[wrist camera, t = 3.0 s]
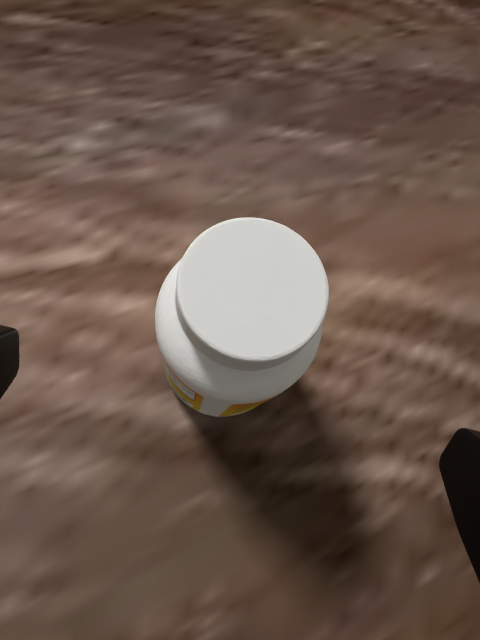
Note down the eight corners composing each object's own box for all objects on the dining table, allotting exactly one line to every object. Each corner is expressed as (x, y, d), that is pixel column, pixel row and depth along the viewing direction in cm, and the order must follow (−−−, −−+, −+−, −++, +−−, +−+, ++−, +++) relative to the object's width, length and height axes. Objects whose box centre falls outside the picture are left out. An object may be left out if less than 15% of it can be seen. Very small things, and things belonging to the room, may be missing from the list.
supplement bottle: (289, 321, 21) (372, 223, 12) (263, 431, 20) (336, 417, 10) (182, 290, 21) (182, 167, 12) (147, 399, 19) (116, 356, 10)
